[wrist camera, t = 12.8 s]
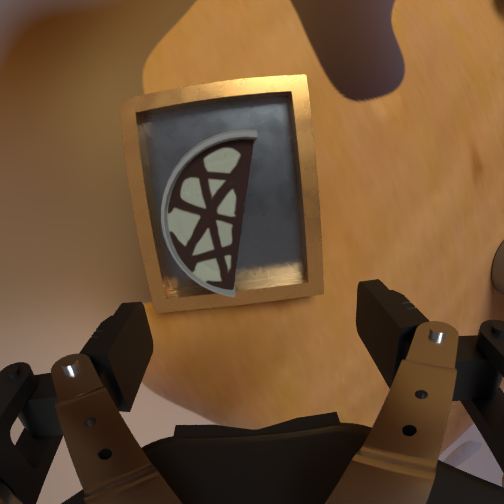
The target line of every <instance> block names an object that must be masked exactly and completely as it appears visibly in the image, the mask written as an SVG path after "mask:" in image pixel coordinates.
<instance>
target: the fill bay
mask: <svg viewBox="0 0 504 504" xmlns="http://www.w3.org/2000/svg"><path fill="white" fill-rule="evenodd" d="M119 108H120V118H121V127H122V137H123V145H124V153H125V161H126V168H127V174H128V181H129V188H130V194H131V200H132V206H133V212H134V218H135V223H136V228H137V233H138V239H139V244H140V248H141V253H142V258H143V263H144V267H145V272H146V276H147V281H148V285H149V289H150V293H151V297H152V301H153V305H154V309H155V313H165V312H176V311H187V310H197V309H207V308H217V307H226V306H235V305H244V304H253V303H261V302H269V301H277V300H285V299H292V298H300V297H307V296H314V295H321V294H324V284H323V258H322V237H321V220H320V205H319V191H318V179H317V167H316V156H315V146H314V136H313V127H312V118H311V110H310V101H309V93H308V86H307V78H306V75H288V76H271V77H258V78H247V79H237V80H229V81H221V82H213V83H206V84H199V85H193V86H187V87H181V88H176V89H170V90H165V91H160V92H155V93H150V94H146V95H142V96H137V97H133V98H129V99H125V100H120V101H119ZM234 130H257V139H256V141H255V143H254V145H253V152H252V159H251V166H250V173H249V180H248V187H247V193H246V199H245V207H244V209H245V212H244V214H243V221H242V229H241V230H242V231H241V236H240V243H239V251H238V261H237V266H236V267H237V268H236V281H235V297H230V296H225V295H222V294H219V293H216V292H213V291H211V290H209V289H207V288H205V287H203V286H201V285H200V284H198V283H197V282H195V281H194V280H193V279H191V278H190V277H189V276H188V275H187V274H186V273H185V272H184V271H183V270H182V269H181V268H180V267H179V265H178V264H177V263H176V261H175V260H174V259H173V257H172V255H171V253H170V251H169V249H168V247H167V245H166V242H165V239H164V236H163V231H162V224H161V205H162V199H163V193H164V189H165V187H166V184H167V181H168V178H169V177H170V175H171V173H172V171H173V169H174V167H175V166H176V165H177V164H178V162H179V161H180V160H181V158H182V157H183V156H184V155H185V154H186V153H187V152H189V151H190V150H191V149H192V148H193V147H195V146H196V145H197V144H199V143H200V142H202V141H204V140H206V139H208V138H210V137H212V136H214V135H217V134H220V133H224V132H228V131H234Z"/></svg>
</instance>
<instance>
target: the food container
mask: <svg viewBox="0 0 504 504" xmlns="http://www.w3.org/2000/svg"><path fill="white" fill-rule="evenodd" d="M256 139H257V130H234V131H228V132H224V133H220V134H217V135H214V136H212V137H210V138H208V139H206V140H204V141H202V142H200V143H199V144H197V145H196V146H195V147H193V148H192V149H191V150H190V151H189V152H187V153H186V154H185V155H184V156H183V157H182V158H181V160H180V161H179V162H178V164H177V165H176V166H175V167H174V169H173V171H172V173H171V175H170V177H169V178H168V181H167V184H166V187H165V189H164V193H163V199H162V205H161V224H162V231H163V236H164V239H165V242H166V245H167V247H168V249H169V251H170V253H171V255H172V257H173V259H174V260H175V261H176V263H177V264H178V265H179V267H180V268H181V269H182V270H183V271H184V272H185V273H186V274H187V275H188V276H189V277H190V278H191V279H193V280H194V281H195V282H197V283H198V284H200V285H201V286H203V287H205V288H207V289H209V290H211V291H213V292H216V293H219V294H222V295H225V296H230V297H235V281H236V268H237V267H236V266H237V261H238V251H239V243H240V236H241V231H242V230H241V229H242V221H243V214H244V212H245V209H244V207H245V199H246V193H247V187H248V180H249V173H250V166H251V159H252V152H253V145H254V143H255V141H256Z"/></svg>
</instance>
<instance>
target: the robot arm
mask: <svg viewBox="0 0 504 504" xmlns="http://www.w3.org/2000/svg"><path fill="white" fill-rule="evenodd" d="M492 281H493V284H494V286H495V288H496V289H497V290H498V291H499V292H501V293H502V294H504V241H503V243H502V244H501V246H500V247H499V249H498V251H497V253H496V255H495V259H494V262H493V267H492ZM356 327H357V332H358V334H359V336H360V338H361V340H362V341H363V343H364V345H365V347H366V348H367V350H368V352H369V353H370V355H371V357H372V359H373V360H374V362H375V364H376V366H377V367H378V369H379V371H380V373H381V374H382V376H383V378H384V380H385V381H386V383H387V385H388V387H389V389H390V390H389V392H388V395H387V397H386V399H385V401H384V404H383V406H382V408H381V410H380V412H379V414H378V416H377V418H376V420H375V423H374V425H373V427H372V428H371V427H368V426H364V425H359V424H353V423H340V421H339V418H338V415H337V412H332V413H326V414H320V415H314V416H307V417H300V418H295V419H292V420H289V421H286V422H282V423H279V424H276V425H272V426H269V427H265V428H262V429H257V430H251V429H242V428H234V427H227V426H220V425H176V426H175V431H174V436H172V437H167V438H164V439H160V440H157V441H155V442H152V443H150V444H148V445H145V446H144V447H142V448H141V447H140V446H139V444H138V442H137V441H136V439H135V438H134V436H133V434H132V433H131V431H130V429H129V428H128V426H127V425H126V423H125V421H124V420H123V418H122V416H121V414H120V413H119V411H123V412H130V410H131V408H132V405H133V402H134V400H135V397H136V394H137V392H138V389H139V386H140V384H141V381H142V379H143V376H144V374H145V371H146V368H147V366H148V363H149V361H150V358H151V356H152V353H153V339H152V335H151V331H150V327H149V324H148V320H147V316H146V312H145V308H144V305H143V303H142V302H130V303H122V304H121V305H120V306H119V308H118V309H117V311H116V312H115V314H114V315H113V316H110V317H109V318H107V319H106V320H104V321H103V322H102V323H101V324H100V325H99V327H98V328H97V329H96V331H95V332H94V334H93V335H92V338H90V339H89V340H88V342H87V343H86V344H85V346H84V347H83V349H82V350H81V352H80V353H79V354H71V355H67V356H65V357H63V358H61V359H60V360H58V361H57V362H55V364H54V365H53V366H52V368H51V373H46V374H40V375H34V374H33V372H32V370H31V367H30V365H29V364H27V363H24V362H18V363H14V364H11V365H9V366H7V367H5V368H4V369H3V370H2V371H1V372H0V504H36V502H37V500H38V497H39V494H40V492H41V489H42V486H43V484H44V481H45V478H46V476H47V473H48V471H49V468H50V466H51V463H52V461H53V459H54V456H55V454H56V451H57V449H58V447H59V444H60V442H61V439H62V437H63V436H64V439H65V442H66V445H67V448H68V451H69V454H70V456H71V459H72V462H73V465H74V467H75V470H76V473H77V475H78V478H79V480H80V483H81V485H82V488H83V490H81V491H80V492H78V493H77V494H75V495H74V496H72V497H71V498H70V499H68V500H66V501H65V502H63V503H61V504H504V474H503V477H502V487H501V486H498V485H496V484H493V483H491V482H488V481H486V480H483V479H481V478H478V477H476V476H474V475H471V474H469V473H467V472H464V471H462V470H459V469H457V468H455V467H453V466H451V465H449V464H446V463H444V462H442V461H440V460H438V458H439V454H440V451H441V447H442V443H443V439H444V435H445V431H446V427H447V423H448V418H449V413H450V409H451V404H452V401H461V403H462V404H463V406H464V407H465V409H466V410H467V412H468V414H469V415H470V417H471V418H472V420H473V422H474V423H475V425H476V426H477V428H478V430H479V431H480V433H481V434H482V436H483V438H484V440H485V441H486V443H487V445H488V446H489V448H490V450H491V452H492V453H493V455H494V457H495V459H496V460H497V462H498V464H499V466H500V467H501V469H502V471H503V473H504V393H503V391H502V390H501V388H500V387H499V386H500V383H501V381H502V378H503V377H504V321H500V320H488V321H485V322H483V323H482V324H481V326H480V329H479V333H478V335H477V336H459V334H458V331H457V330H456V329H455V328H454V327H453V326H451V325H449V324H447V323H444V322H438V321H429V320H428V319H427V318H426V317H425V316H424V315H423V314H422V313H421V312H420V311H419V310H418V309H417V308H415V306H414V305H413V304H412V303H410V301H409V300H408V299H407V298H406V297H405V296H404V295H403V294H400V293H398V292H396V291H394V290H389V289H388V288H387V287H386V286H385V285H384V284H383V283H382V282H381V281H380V280H379V279H376V280H369V281H361V282H359V284H358V289H357V310H356ZM17 417H18V418H19V419H20V421H21V422H22V424H23V426H24V427H25V428H24V430H23V432H22V433H21V435H20V437H19V439H18V441H17V443H16V445H14V444H13V442H12V440H11V437H10V429H11V427H12V425H13V423H14V422H15V420H16V418H17Z"/></svg>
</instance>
